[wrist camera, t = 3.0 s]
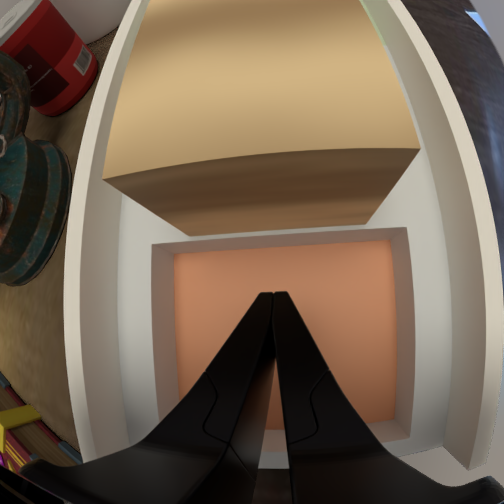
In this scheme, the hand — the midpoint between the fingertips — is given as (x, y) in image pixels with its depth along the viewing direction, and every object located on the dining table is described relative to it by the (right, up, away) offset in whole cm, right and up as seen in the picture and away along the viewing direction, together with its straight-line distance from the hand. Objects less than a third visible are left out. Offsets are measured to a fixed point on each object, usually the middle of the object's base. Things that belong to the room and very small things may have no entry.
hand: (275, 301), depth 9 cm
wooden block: (0, +8, +5) cm, 10 cm away
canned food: (-19, +18, +13) cm, 29 cm away
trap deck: (+1, +11, +9) cm, 14 cm away
